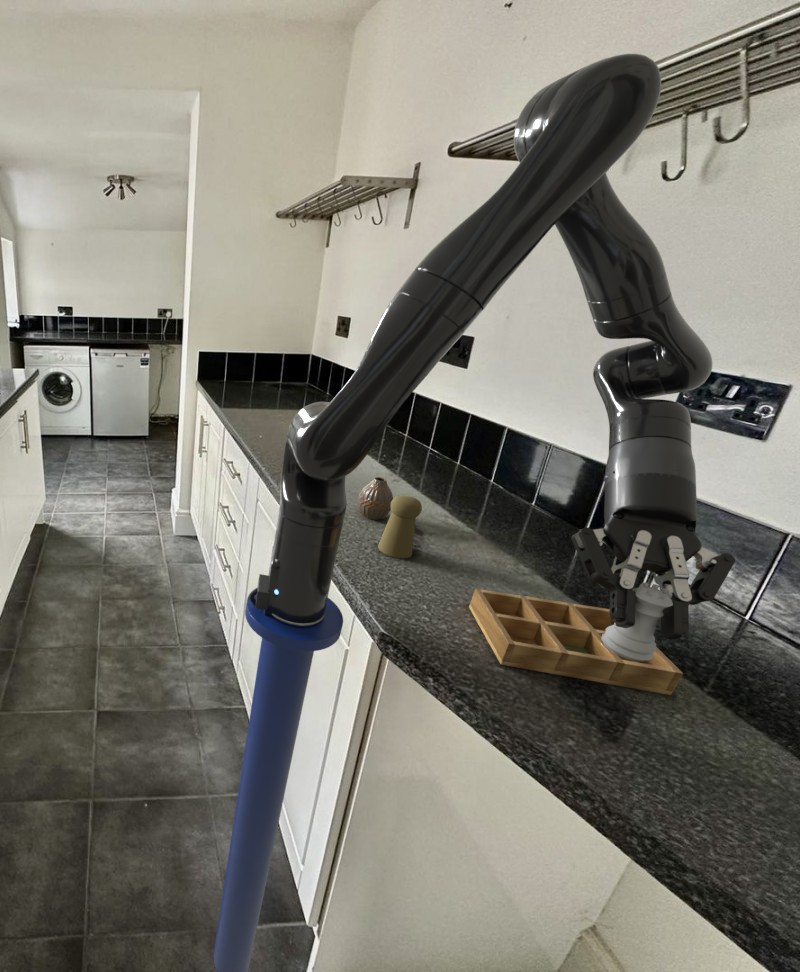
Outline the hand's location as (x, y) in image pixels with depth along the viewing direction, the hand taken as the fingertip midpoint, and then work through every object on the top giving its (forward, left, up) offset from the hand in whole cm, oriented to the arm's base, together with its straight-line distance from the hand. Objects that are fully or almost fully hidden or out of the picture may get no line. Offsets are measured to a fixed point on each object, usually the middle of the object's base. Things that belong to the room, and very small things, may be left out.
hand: (648, 631), depth 53 cm
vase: (-17, +54, -15) cm, 59 cm away
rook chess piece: (0, +2, -4) cm, 5 cm away
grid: (+3, +16, -15) cm, 22 cm away
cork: (-15, +39, -15) cm, 45 cm away
